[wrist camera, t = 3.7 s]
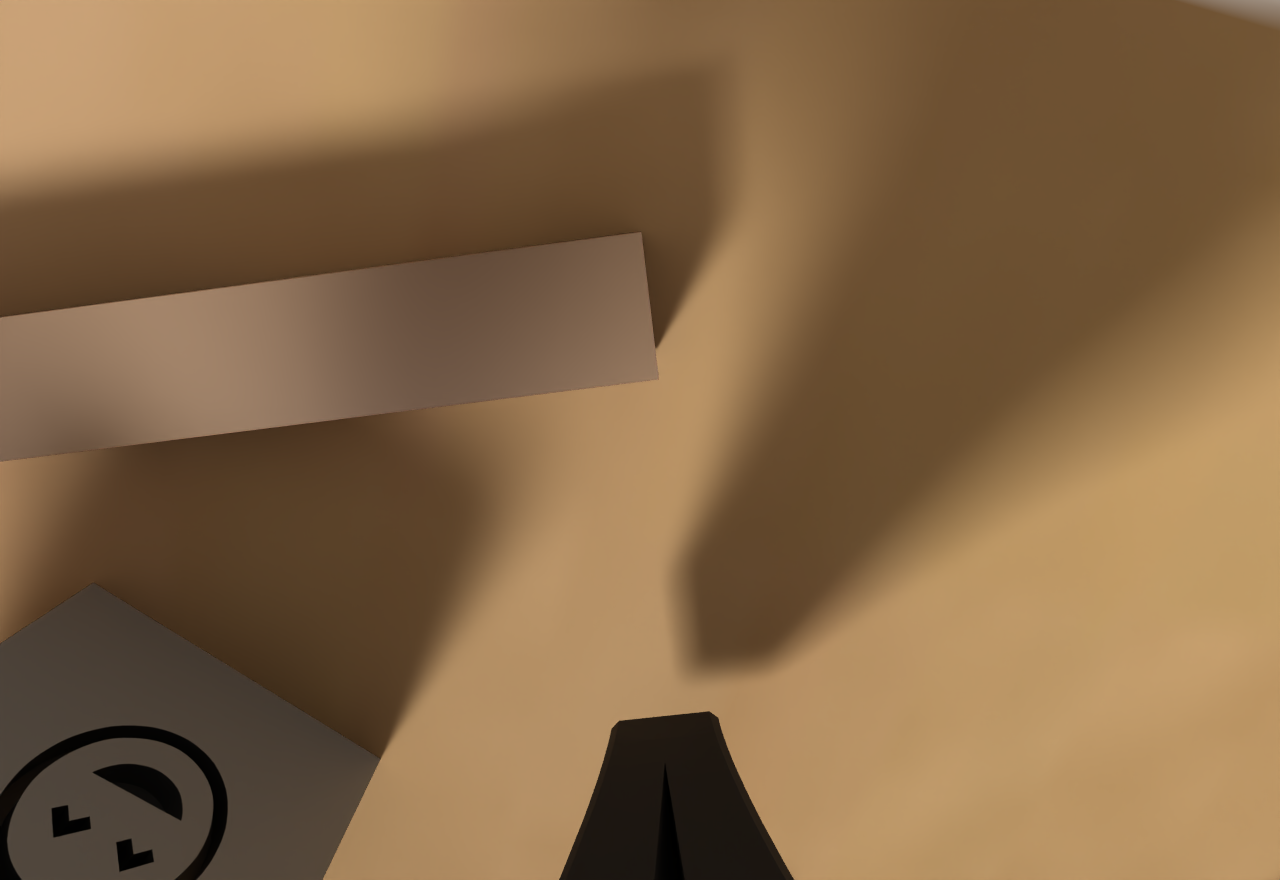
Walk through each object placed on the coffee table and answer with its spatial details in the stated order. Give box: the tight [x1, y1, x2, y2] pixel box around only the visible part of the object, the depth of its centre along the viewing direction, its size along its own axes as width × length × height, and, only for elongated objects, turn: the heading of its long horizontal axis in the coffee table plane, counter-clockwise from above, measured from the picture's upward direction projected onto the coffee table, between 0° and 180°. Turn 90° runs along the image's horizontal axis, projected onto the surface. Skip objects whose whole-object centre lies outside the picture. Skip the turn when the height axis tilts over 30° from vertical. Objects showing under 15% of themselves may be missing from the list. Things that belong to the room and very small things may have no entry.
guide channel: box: [0, 231, 659, 462], centre depth 9 cm, size 18×14×3 cm
